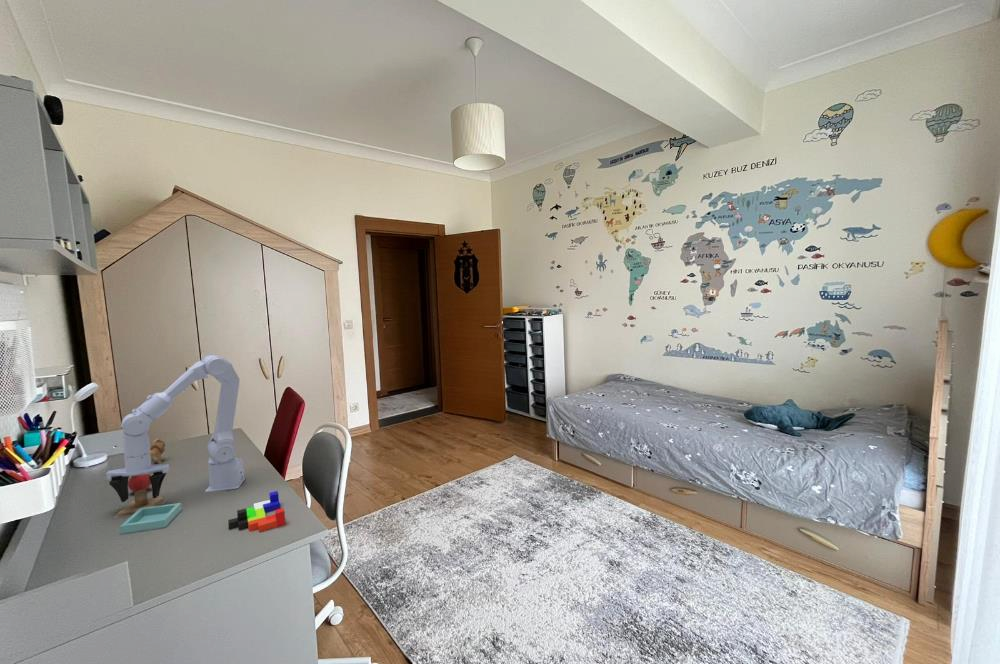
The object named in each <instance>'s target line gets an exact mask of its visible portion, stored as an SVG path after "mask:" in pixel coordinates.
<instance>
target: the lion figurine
mask: <svg viewBox="0 0 1000 664" xmlns="http://www.w3.org/2000/svg"><path fill="white" fill-rule="evenodd" d="M165 449H166V443H165V440H164V439H162V438H156V439H154V440H153V441H152V442H151V446H150V457H151V465H155V464H156V462H157V465H162V464H163V462H162V461H161V459H162V454H163V453H164V452H165ZM155 458H156V460H157V461H156V462H155Z"/></svg>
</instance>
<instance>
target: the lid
mask: <svg viewBox="0 0 1000 664" xmlns="http://www.w3.org/2000/svg"><path fill="white" fill-rule="evenodd" d="M133 497H134V500H132V501H130V502H129V503H128V504H126V506H125V507H123V508H122V509H121V510H120V511H118V512H117V513H116V515H117V517H120V518H122V517H121V516H127V517H129V516H128V515H133V514H134V513H135V512H137V511H138V510H139V509H140V508H146V507H153V506H158V505H159V504H160V503H161V502H163V501H164V499H165V496H158V497H156V498H153V497H152V498H148V491H147V489H146V490H139V491H137V492H134V493H133Z"/></svg>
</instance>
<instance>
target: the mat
mask: <svg viewBox="0 0 1000 664" xmlns="http://www.w3.org/2000/svg"><path fill="white" fill-rule="evenodd" d="M168 501H169V498H164V501H163V502H161V503H160V504H159V505H158V506H161V505H165V503H166V502H168ZM131 516H132V515H128V516H121V517H117V514H115V515H114V516H113V517H112V519H118V518H125V517H126V518H128V517H131Z"/></svg>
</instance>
